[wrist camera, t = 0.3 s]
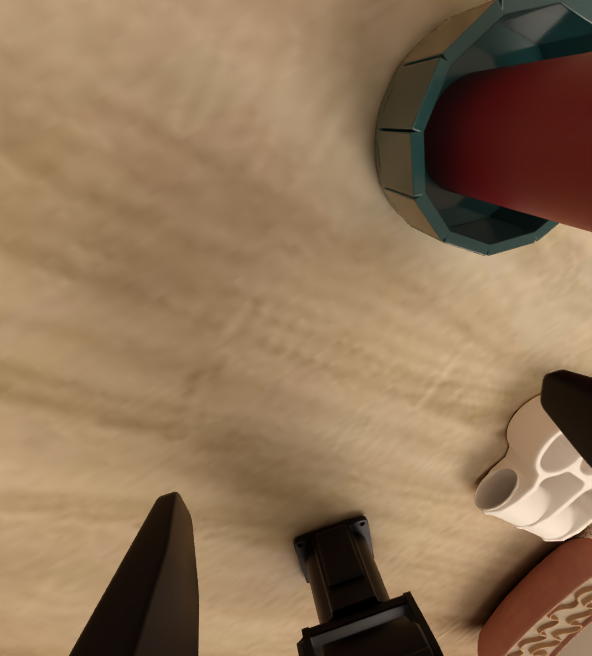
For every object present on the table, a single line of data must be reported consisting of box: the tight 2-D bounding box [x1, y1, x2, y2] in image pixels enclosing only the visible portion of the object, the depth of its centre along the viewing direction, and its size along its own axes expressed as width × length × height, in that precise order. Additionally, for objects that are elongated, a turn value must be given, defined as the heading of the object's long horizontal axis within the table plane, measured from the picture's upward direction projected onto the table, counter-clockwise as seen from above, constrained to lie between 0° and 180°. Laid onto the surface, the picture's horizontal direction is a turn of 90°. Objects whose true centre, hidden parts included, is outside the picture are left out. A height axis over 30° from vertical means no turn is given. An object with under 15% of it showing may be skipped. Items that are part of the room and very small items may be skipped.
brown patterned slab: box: [478, 538, 592, 656], centre depth 45 cm, size 23×10×5 cm, turn 157°
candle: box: [424, 52, 592, 232], centre depth 14 cm, size 6×6×14 cm
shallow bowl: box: [375, 0, 592, 256], centre depth 19 cm, size 10×10×4 cm
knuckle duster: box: [474, 395, 592, 542], centre depth 35 cm, size 3×18×15 cm
